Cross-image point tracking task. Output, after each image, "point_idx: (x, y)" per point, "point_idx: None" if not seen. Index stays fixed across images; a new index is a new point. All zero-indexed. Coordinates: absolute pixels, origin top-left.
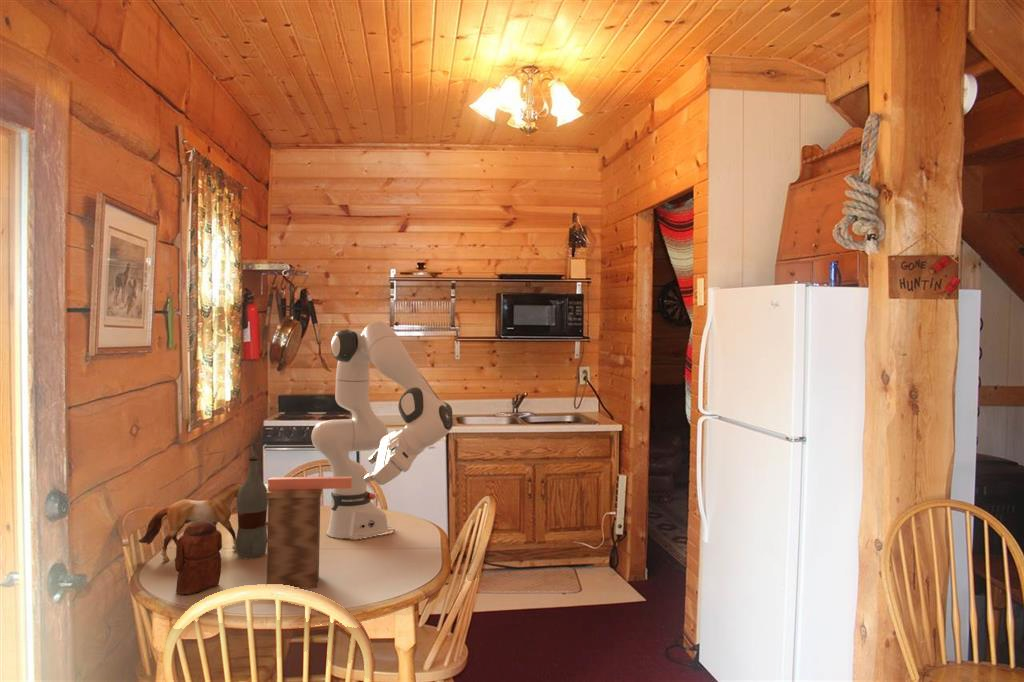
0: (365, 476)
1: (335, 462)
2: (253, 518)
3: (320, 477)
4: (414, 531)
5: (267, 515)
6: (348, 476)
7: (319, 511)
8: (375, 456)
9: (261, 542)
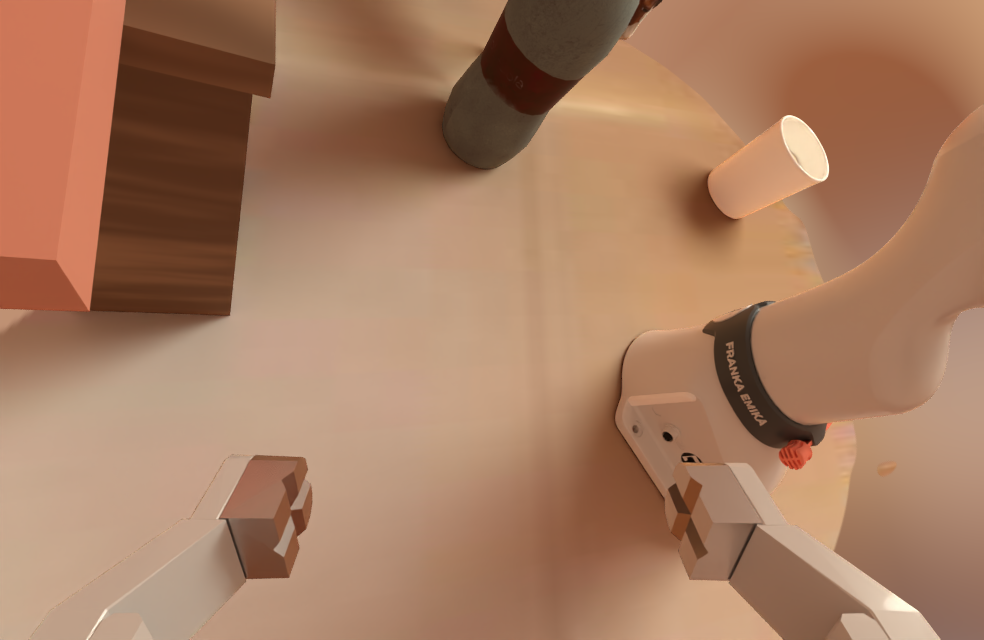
0: (266, 470)
1: (888, 260)
2: (498, 46)
3: None
4: (719, 613)
5: (723, 183)
6: (59, 215)
7: (144, 155)
8: (760, 565)
9: (472, 129)
